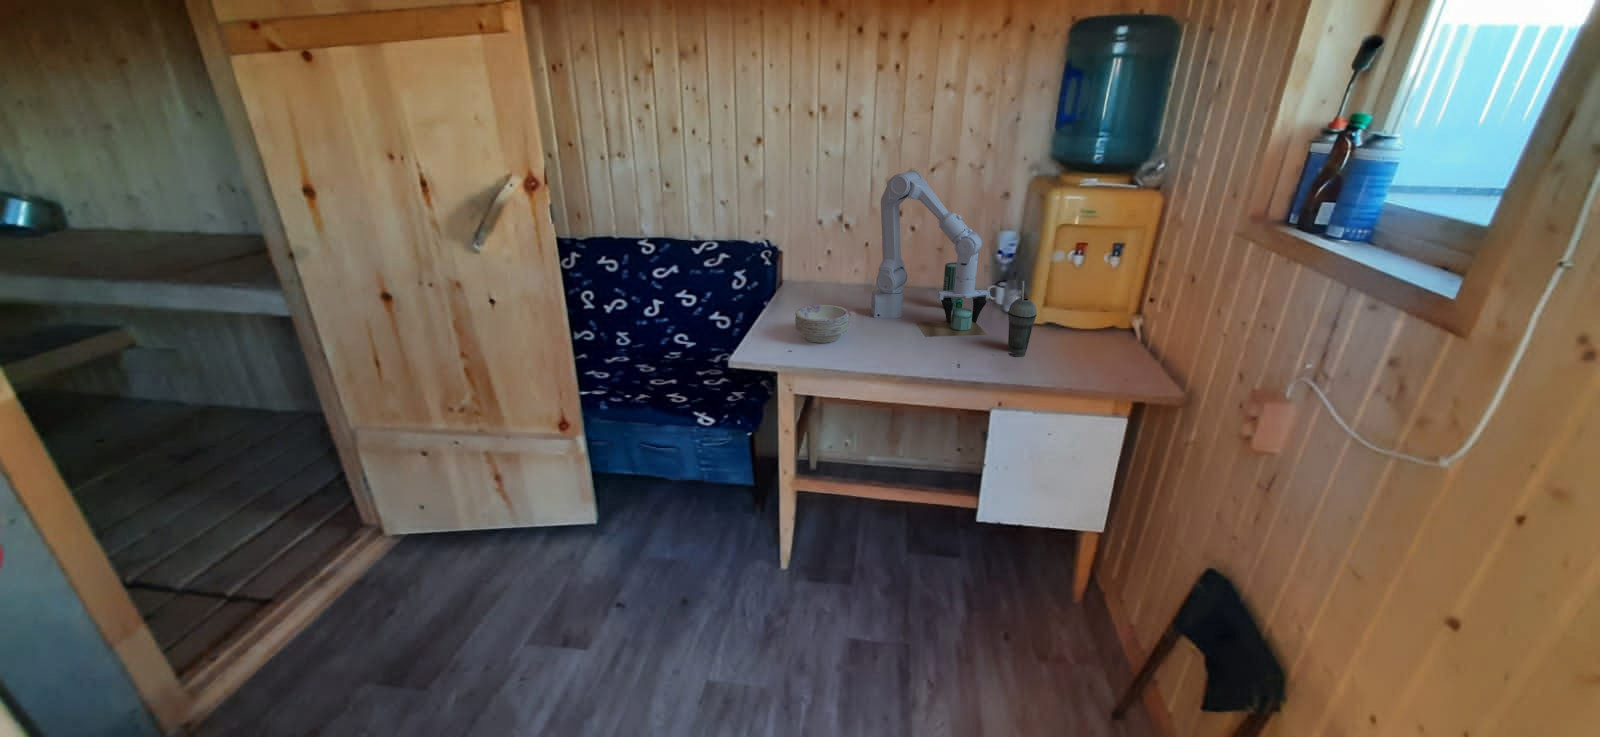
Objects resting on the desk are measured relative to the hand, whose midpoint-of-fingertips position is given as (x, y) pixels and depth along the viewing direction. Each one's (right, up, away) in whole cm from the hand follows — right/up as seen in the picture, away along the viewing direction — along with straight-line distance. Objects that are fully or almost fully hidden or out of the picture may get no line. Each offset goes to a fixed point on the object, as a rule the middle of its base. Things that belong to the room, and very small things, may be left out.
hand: (961, 322), depth 191 cm
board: (-3, -3, +1) cm, 4 cm away
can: (+1, +5, +19) cm, 19 cm away
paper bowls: (-41, -5, -3) cm, 41 cm away
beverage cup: (+11, -10, -14) cm, 21 cm away
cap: (0, -1, +1) cm, 2 cm away
